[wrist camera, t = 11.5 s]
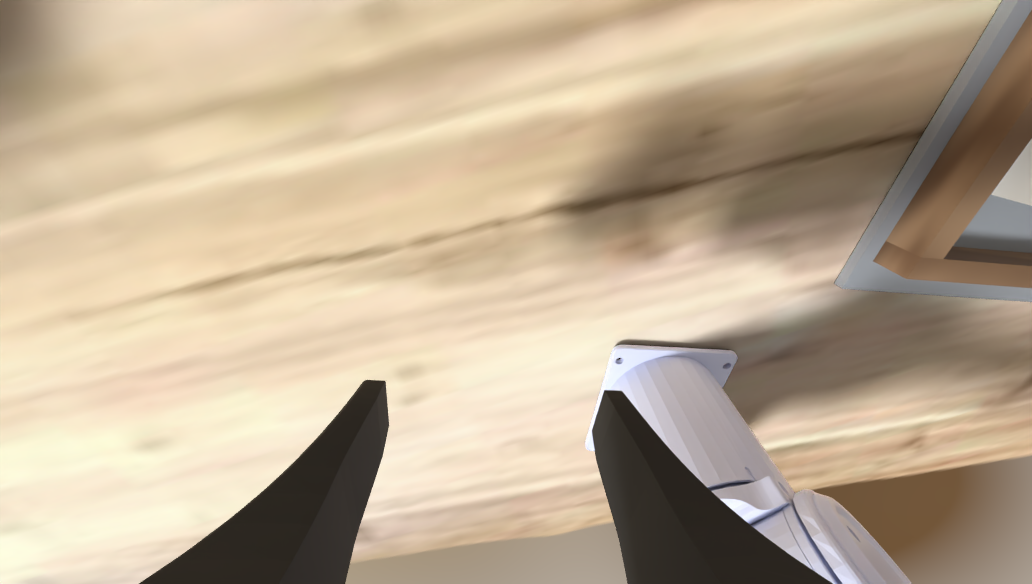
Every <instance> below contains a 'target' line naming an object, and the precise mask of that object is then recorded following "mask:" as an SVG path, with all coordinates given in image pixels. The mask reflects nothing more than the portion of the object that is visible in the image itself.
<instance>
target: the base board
mask: <svg viewBox="0 0 1032 584" xmlns="http://www.w3.org/2000/svg"><path fill="white" fill-rule="evenodd" d="M1031 10H1032V0H1002V2H1001V4H1000V5H999V7H998V9H997V10H996V12H995V14H994V16H993V17H992V19H991V21H990V22H989V24H988V26H987V27H986V29H985V31H984V32H983V34H982V36H981V37H980V39H979V41H978V42H977V44H976V46H975V47H974V49H973V51H972V52H971V54H970V56H969V58H968V59H967V61H966V63H965V64H964V66H963V68H962V69H961V71H960V73H959V74H958V76H957V78H956V79H955V81H954V83H953V84H952V86H951V88H950V89H949V91H948V93H947V95H946V96H945V98H944V100H943V101H942V103H941V105H940V106H939V108H938V110H937V111H936V113H935V115H934V116H933V118H932V120H931V121H930V123H929V125H928V126H927V128H926V130H925V131H924V133H923V135H922V137H921V138H920V140H919V142H918V143H917V145H916V147H915V148H914V150H913V152H912V153H911V155H910V157H909V158H908V160H907V162H906V163H905V165H904V167H903V168H902V170H901V172H900V174H899V175H898V177H897V179H896V180H895V182H894V184H893V185H892V187H891V189H890V190H889V192H888V194H887V195H886V197H885V199H884V200H883V202H882V204H881V205H880V207H879V209H878V210H877V212H876V214H875V216H874V217H873V219H872V221H871V222H870V224H869V226H868V227H867V229H866V231H865V232H864V234H863V236H862V237H861V239H860V241H859V242H858V244H857V246H856V247H855V249H854V251H853V253H852V254H851V256H850V258H849V259H848V261H847V263H846V264H845V266H844V268H843V269H842V271H841V273H840V274H839V276H838V278H837V279H836V281H835V283H834V284H836V285H837V286H839V287H840V288H842V289H853V290H867V291H882V292H896V293H910V294H925V295H939V296H954V297H968V298H982V299H997V300H1011V301H1025V302H1032V288H1021V287H1007V286H994V285H980V284H966V283H953V282H939V281H926V280H912V279H905V278H903V277H901V276H900V275H898V274H896V273H894V272H892V271H890V270H888V269H887V268H885V267H883V266H881V265H879V264H877V263H875V262H873V260H874V259H875V257H876V255H877V254H878V252H879V251H880V249H881V248H882V246H883V244H884V243H885V241H886V240H887V238H888V236H889V235H890V233H891V232H892V230H893V229H894V227H895V225H896V224H897V222H898V221H899V219H900V217H901V216H902V214H903V213H904V211H905V210H906V208H907V206H908V205H909V203H910V202H911V200H912V198H913V197H914V195H915V194H916V192H917V191H918V189H919V187H920V186H921V184H922V183H923V181H924V179H925V178H926V176H927V175H928V173H929V172H930V170H931V168H932V167H933V165H934V164H935V162H936V160H937V159H938V157H939V156H940V154H941V153H942V151H943V149H944V148H945V146H946V145H947V143H948V141H949V140H950V138H951V137H952V135H953V134H954V132H955V130H956V129H957V127H958V126H959V124H960V122H961V121H962V119H963V118H964V116H965V115H966V113H967V111H968V110H969V108H970V107H971V105H972V103H973V102H974V100H975V99H976V97H977V96H978V94H979V92H980V91H981V89H982V88H983V86H984V84H985V83H986V81H987V80H988V78H989V77H990V75H991V73H992V72H993V70H994V69H995V67H996V65H997V64H998V62H999V61H1000V59H1001V58H1002V56H1003V54H1004V53H1005V51H1006V50H1007V48H1008V46H1009V45H1010V43H1011V42H1012V40H1013V39H1014V37H1015V35H1016V34H1017V32H1018V31H1019V29H1020V27H1021V26H1022V24H1023V23H1024V21H1025V20H1026V18H1027V16H1028V15H1029V13H1030V12H1031ZM1031 139H1032V138H1031ZM1029 142H1030V141H1029ZM1027 145H1028V144H1027ZM1027 145H1026V146H1027ZM1024 149H1025V148H1024ZM1024 149H1023V150H1024ZM1021 153H1022V152H1021ZM1021 153H1020V154H1021ZM1019 156H1020V155H1019ZM1019 156H1018V157H1019ZM1016 160H1017V159H1016ZM1016 160H1015V161H1016ZM1013 164H1014V163H1013ZM1013 164H1012V165H1013ZM1011 167H1012V166H1011ZM1011 167H1010V168H1011ZM1008 171H1009V170H1008ZM1008 171H1007V172H1008ZM1005 175H1006V174H1005ZM1005 175H1004V176H1005ZM1002 179H1003V178H1002ZM1002 179H1001V180H1002ZM1000 182H1001V181H1000ZM1000 182H999V183H1000ZM997 186H998V185H997ZM997 186H996V187H997ZM994 190H995V189H994ZM994 190H993V191H994ZM992 193H993V192H992ZM992 193H991V194H992ZM953 246H954V247H965V248H977V249H989V250H1001V251H1013V252H1025V253H1032V206H1030V205H1027V204H1023V203H1019V202H1016V201H1012V200H1009V199H1005V198H1001V197H998V196H994V195H990V196H989V197H988V199H987V200H986V201H985V203H984V204H983V205H982V207H981V208H980V210H979V211H978V212H977V214H976V215H975V216H974V218H973V219H972V221H971V222H970V223H969V225H968V226H967V227H966V229H965V230H964V231H963V233H962V234H961V236H960V237H959V238H958V240H957V241H956V242H955V244H954V245H953Z"/></svg>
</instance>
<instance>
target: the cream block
mask: <svg viewBox="0 0 1032 584" xmlns="http://www.w3.org/2000/svg"><path fill="white" fill-rule="evenodd" d="M991 195H994V196H998V197H1001V198H1005V199H1009V200H1012V201H1016V202H1019V203H1023V204H1027V205H1030V206H1032V139H1031V140H1030V142H1029V143H1028V145H1027V146H1026V147H1025V149H1024V150H1023V151H1022V153H1021V154H1020V156H1019V157H1018V158H1017V160H1016V161H1015V162H1014V164H1013V165H1012V167H1011V168H1010V169H1009V171H1008V172H1007V173H1006V175H1005V176H1004V177H1003V179H1002V180H1001V182H1000V183H999V184H998V186H997V187H996V188H995V190H994V191H993V193H992V194H991Z"/></svg>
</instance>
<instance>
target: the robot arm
mask: <svg viewBox="0 0 1032 584" xmlns="http://www.w3.org/2000/svg"><path fill="white" fill-rule="evenodd" d="M618 358H621V359H620V360H616V359H618ZM737 358H738V357H737V355H736V353H735V352H734V351H732V350H718V349H698V348H678V347H659V346H639V345H617V346H615V347H614V348H613V350H612V353H611V356H610V359H609V363H608V366H607V370H606V373H605V376H604V380H603V383H602V387H601V390H600V393H599V397H598V400H597V404H596V407H595V411H594V414H593V417H592V421H591V424H590V428H589V431H588V434H587V438H586V441H585V446H586V449H587V450H590V451H595V455H596V460H597V464H598V468H599V471H600V475H601V478H602V482H603V485H604V489H605V492H606V496H607V499H608V502H609V506H610V509H611V513H612V516H613V519H614V523H615V526H616V530H617V534H618V538H619V542H620V546H621V552H622V557H623V562H624V567H625V571H626V577H627V583H628V584H912V583H911V582H910V580H909V579H908V578H907V577H906V575H905V574H904V573H903V572H902V571H901V569H900V568H899V567H898V566H897V565H896V563H895V562H894V561H893V560H892V559H891V558H890V556H889V555H888V554H887V553H886V552H885V551H884V550H883V548H882V547H881V546H880V545H879V544H878V543H877V542H876V540H874V538H873V537H872V536H871V535H870V534H869V533H868V532H867V531H866V529H865V528H864V527H863V526H862V525H861V524H860V523H859V522H858V521H857V520H856V519H855V518H854V517H853V516H852V515H851V514H850V513H849V512H848V511H847V510H846V509H845V508H844V507H843V506H841V505H840V504H839V503H838V502H837V501H835V500H834V499H832V498H831V497H828V496H825V495H821V494H817V493H815V492H814V491H812V490H809V489H803V490H801V491H799V492H797V493H795V492H794V491H793V489H792V488H791V486H790V485H789V484H788V482H787V481H786V479H785V478H784V476H783V475H782V474H781V472H780V471H779V469H778V468H777V466H776V465H775V463H774V462H773V461H772V459H771V458H770V456H769V455H768V453H767V452H766V451H765V449H764V448H763V446H762V445H761V443H760V442H759V440H758V439H757V438H756V436H755V435H754V433H753V432H752V430H751V429H750V428H749V426H748V425H747V423H746V422H745V420H744V419H743V417H742V416H741V415H740V413H739V412H738V410H737V409H736V407H735V406H734V405H733V403H732V402H731V400H730V399H729V397H728V396H727V394H726V393H725V392H724V390H723V387H724V385H725V383H726V381H727V379H728V377H729V375H730V373H731V371H732V369H733V367H734V365H735V363H736V361H737ZM726 363H727V364H726ZM724 364H725V365H724ZM388 427H389V419H388V407H387V394H386V382H385V381H376V380H365V381H364V382H363V383H362V384H361V385H360V387H359V388H358V389H357V391H356V392H355V393H354V395H353V396H352V397H351V398H350V400H349V401H348V402H347V404H346V405H345V406H344V407H343V409H342V410H341V411H340V412H339V413H338V415H337V416H336V417H335V418H334V419H333V420H332V422H331V423H330V424H329V425H328V426H327V427H326V429H325V430H324V431H323V432H322V433H321V434H320V435H319V436H318V438H317V439H316V440H315V441H314V442H313V443H312V444H311V445H310V446H309V447H308V448H307V449H306V450H305V451H304V452H303V453H302V454H301V456H300V457H299V458H298V459H297V460H296V461H295V462H294V463H293V464H292V465H291V466H290V467H289V468H287V469H286V470H285V471H284V472H283V473H282V474H281V475H280V476H279V477H278V478H277V479H276V480H275V481H274V482H272V483H271V484H270V485H269V486H268V487H267V488H266V489H265V490H264V491H262V492H261V493H260V494H259V495H258V496H257V497H255V498H254V499H253V500H252V501H251V502H250V503H248V504H247V505H246V506H245V507H244V508H242V509H241V510H240V511H239V512H238V513H236V514H235V515H234V516H233V517H231V518H230V519H229V520H228V521H226V522H225V523H224V524H222V525H221V526H220V527H218V528H217V529H216V530H214V531H213V532H212V533H210V534H209V535H208V536H206V537H205V538H204V539H202V540H201V541H200V542H198V543H197V544H196V545H194V546H193V547H192V548H190V549H189V550H188V551H186V552H185V553H183V554H182V555H181V556H179V557H178V558H176V559H175V560H173V561H172V562H170V563H169V564H167V565H166V566H164V567H163V568H161V569H160V570H159V571H157V572H156V573H154V574H153V575H151V576H150V577H148V578H147V579H145V580H144V581H142V582H141V583H139V584H345V582H346V577H347V573H348V568H349V564H350V560H351V556H352V552H353V547H354V543H355V540H356V536H357V533H358V529H359V526H360V523H361V520H362V517H363V514H364V511H365V508H366V505H367V502H368V499H369V496H370V493H371V490H372V487H373V484H374V481H375V478H376V475H377V471H378V468H379V465H380V462H381V459H382V456H383V451H384V447H385V442H386V437H387V432H388Z"/></svg>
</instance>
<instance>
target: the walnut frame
mask: <svg viewBox="0 0 1032 584" xmlns="http://www.w3.org/2000/svg"><path fill="white" fill-rule="evenodd" d="M1031 138H1032V10H1031V12H1030V13H1029V15H1028V16H1027V18H1026V20H1025V21H1024V23H1023V24H1022V26H1021V27H1020V29H1019V31H1018V32H1017V34H1016V35H1015V37H1014V39H1013V40H1012V42H1011V43H1010V45H1009V46H1008V48H1007V50H1006V51H1005V53H1004V54H1003V56H1002V58H1001V59H1000V61H999V62H998V64H997V65H996V67H995V69H994V70H993V72H992V73H991V75H990V77H989V78H988V80H987V81H986V83H985V84H984V86H983V88H982V89H981V91H980V92H979V94H978V96H977V97H976V99H975V100H974V102H973V103H972V105H971V107H970V108H969V110H968V111H967V113H966V115H965V116H964V118H963V119H962V121H961V122H960V124H959V126H958V127H957V129H956V130H955V132H954V134H953V135H952V137H951V138H950V140H949V141H948V143H947V145H946V146H945V148H944V149H943V151H942V153H941V154H940V156H939V157H938V159H937V160H936V162H935V164H934V165H933V167H932V168H931V170H930V172H929V173H928V175H927V176H926V178H925V179H924V181H923V183H922V184H921V186H920V187H919V189H918V191H917V192H916V194H915V195H914V197H913V198H912V200H911V202H910V203H909V205H908V206H907V208H906V210H905V211H904V213H903V214H902V216H901V217H900V219H899V221H898V222H897V224H896V225H895V227H894V229H893V230H892V232H891V233H890V235H889V236H888V238H887V240H886V241H885V243H884V244H883V246H882V248H881V249H880V251H879V252H878V254H877V255H876V257H875V259H874V260H873V262H875V263H877V264H879V265H881V266H883V267H885V268H887V269H888V270H890V271H892V272H894V273H896V274H898V275H900V276H901V277H903V278H905V279H912V280H926V281H939V282H953V283H966V284H980V285H994V286H1007V287H1021V288H1032V253H1025V252H1013V251H1001V250H989V249H977V248H965V247H954V246H953V245H954V244H955V242H956V241H957V240H958V238H959V237H960V236H961V234H962V233H963V231H964V230H965V229H966V227H967V226H968V225H969V223H970V222H971V221H972V219H973V218H974V216H975V215H976V214H977V212H978V211H979V210H980V208H981V207H982V205H983V204H984V203H985V201H986V200H987V199H988V197H989V196H990V195H991V193H992V192H993V190H994V189H995V188H996V186H997V185H998V184H999V182H1000V181H1001V179H1002V178H1003V177H1004V175H1005V174H1006V173H1007V171H1008V170H1009V169H1010V167H1011V166H1012V164H1013V163H1014V162H1015V160H1016V159H1017V158H1018V156H1019V155H1020V153H1021V152H1022V151H1023V149H1024V148H1025V147H1026V145H1027V144H1028V143H1029V141H1030V140H1031Z"/></svg>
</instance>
